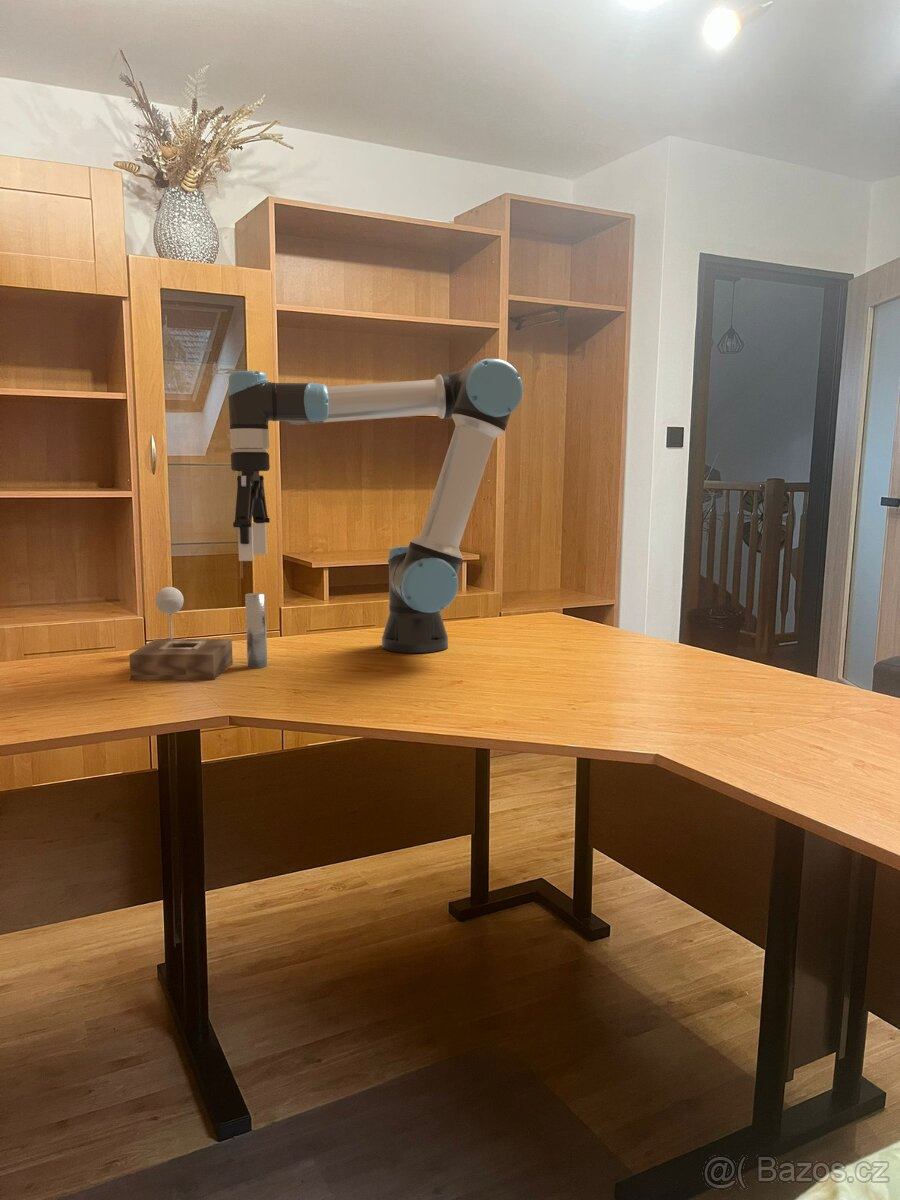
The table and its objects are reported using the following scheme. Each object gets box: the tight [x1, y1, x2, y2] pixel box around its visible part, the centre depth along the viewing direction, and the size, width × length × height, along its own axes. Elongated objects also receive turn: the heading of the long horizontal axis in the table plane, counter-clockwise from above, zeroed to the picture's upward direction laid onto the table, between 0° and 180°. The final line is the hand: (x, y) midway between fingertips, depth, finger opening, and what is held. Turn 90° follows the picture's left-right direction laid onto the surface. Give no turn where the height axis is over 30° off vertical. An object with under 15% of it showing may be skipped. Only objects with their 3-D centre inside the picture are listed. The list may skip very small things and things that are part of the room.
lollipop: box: [154, 586, 185, 639], centre depth 196 cm, size 6×6×15 cm
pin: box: [244, 592, 268, 670], centre depth 184 cm, size 4×4×15 cm
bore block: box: [128, 638, 234, 681], centre depth 181 cm, size 16×16×5 cm
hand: (253, 557), depth 182 cm, fingers open, 13 cm apart
